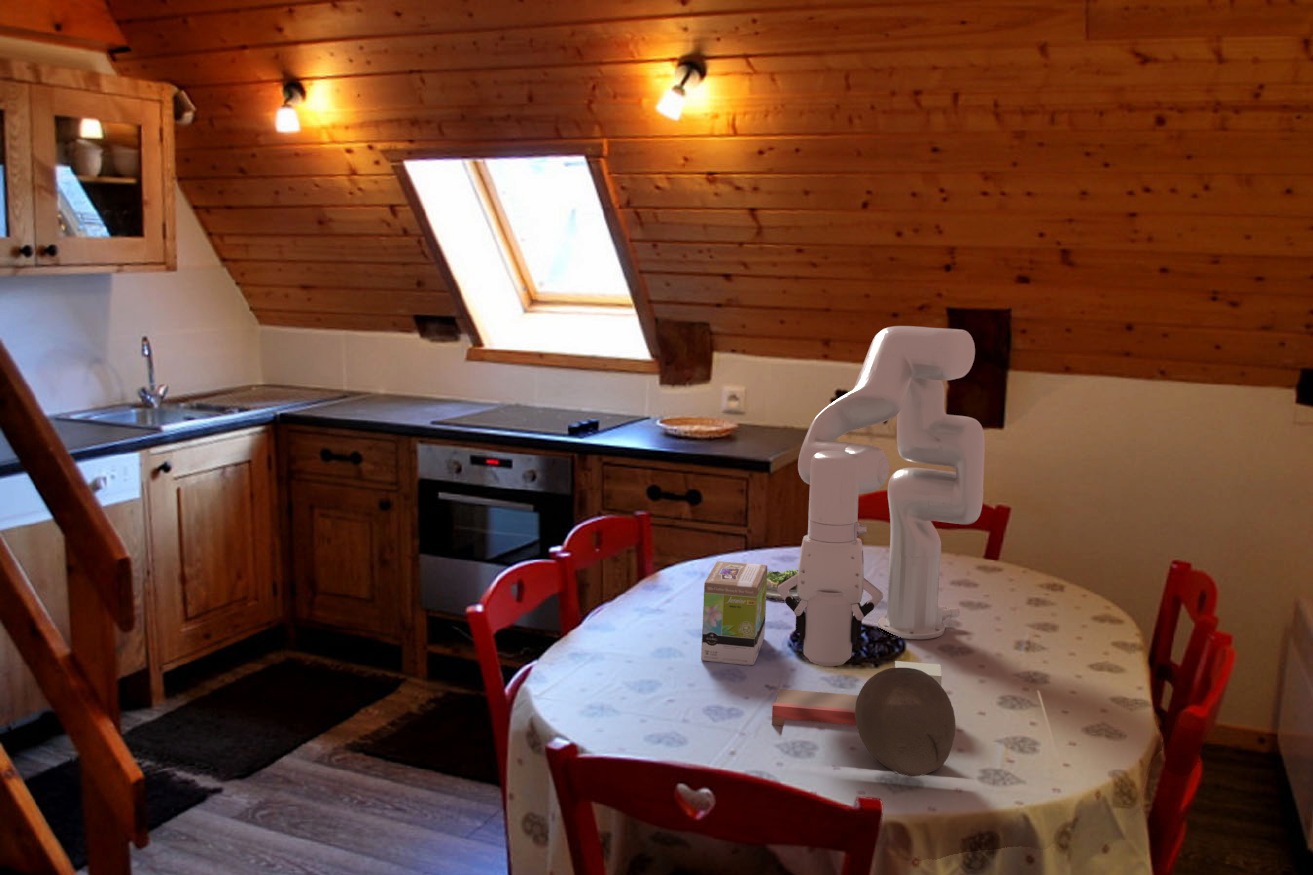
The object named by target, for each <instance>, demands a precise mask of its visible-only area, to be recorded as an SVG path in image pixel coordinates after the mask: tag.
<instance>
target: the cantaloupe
mask: <svg viewBox="0 0 1313 875" xmlns="http://www.w3.org/2000/svg"><path fill="white" fill-rule="evenodd" d="M952 704H953V703H952V702H951V699H950V697H949V696H948V693H947V692H946V690H944V688H943V687H942V685H941V686H940V684H939V683H938V682H937V681H936V680H935V679H934V678H933V677H931V676H930V675H928V674H926V673H925V672H923V671H921V670H917V669H913V668H895V667H889V668H886V669H883V670H881V671H879V672H877V673H875V674H874V675H872V676H871V677H869V679H868V680H866V682H865V683H864V685H863V686H862V688H860V691H859V693H858V697H857V700H856V707H855V719H856V724H857V725H856V728H857V731H858V735H859V737H860V739H861V742H862V744H863V745H864V747H865V748H866V749H867V750H868V751H869V753H871V755H872V756H873V758H875V759H876V760H877V761H878V762H879V764H882V765H883V766H884V767H886V768H887V769H889V770H891V771H893V772H895V773H897V774H900V775H902V776H907V777H913V778H914V777H920V776H925V775H928V774H930V773H933V772H934V771H936V770H938V769H939V768H941V767H942V766H943V765H944V764H945V763H946V761H947V760H948V758H949V756H950V754H951V751H952V747H953V745H954V744H953V743H954V740H955V734H956V717H955V710H954V707H953V705H952Z"/></svg>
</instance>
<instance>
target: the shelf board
mask: <svg viewBox="0 0 1313 875" xmlns="http://www.w3.org/2000/svg"><path fill="white" fill-rule="evenodd" d="M858 695H859V694H858ZM858 695H857V694H846V693H845V694H844V693H835V692H824V691H822V692H821V691H810V690H799V689H788V688H787V689H786V688H779V689H778V692H777V697H776V700H775V702H772V707H771V708H772V709H771V710H772V711H771V712H772V713H771V725H772V726H780V727H781V726H782V727H784V726H785V720H794V721H804V722H814V723H815V722H816V723H826V724H837V725H849V726H857V724H856V719H855V707H856V700H857V697H858Z"/></svg>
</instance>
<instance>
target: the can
mask: <svg viewBox="0 0 1313 875" xmlns="http://www.w3.org/2000/svg"><path fill="white" fill-rule="evenodd" d="M815 592H816V595H815V596H813V597H811V598H810V599H809V601H807V606H806V608H805V633H804V640H803V655H804V656H805V657H806V658H807V659H808V660H809V662H810V663H813V664H815V665H819V666H823V667H835V666H841V665H844V664H845V663H846V662H847V661H848V660H850V659H851V657H852V652H853V650H852V649H853V644H852V621H853V616H854V613H853V611H852V605H851V604H850V602H849V601H848V600H847V599H845V598H844V597H842V594H844V593H841V592H840V593H827V592H821V591H815Z"/></svg>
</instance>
